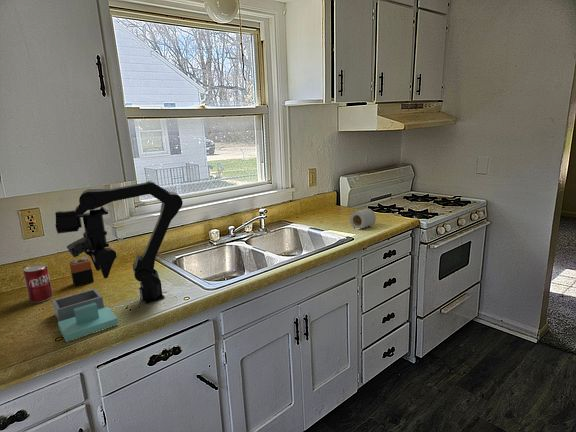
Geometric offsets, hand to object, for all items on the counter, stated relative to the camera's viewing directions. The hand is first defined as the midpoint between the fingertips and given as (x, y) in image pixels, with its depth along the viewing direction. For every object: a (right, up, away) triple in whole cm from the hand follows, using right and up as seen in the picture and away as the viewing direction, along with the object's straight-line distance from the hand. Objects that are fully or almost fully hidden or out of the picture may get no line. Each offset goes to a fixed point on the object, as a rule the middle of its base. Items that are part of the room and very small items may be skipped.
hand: (102, 274), depth 127 cm
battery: (-19, -7, +24) cm, 32 cm away
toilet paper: (+103, +13, +87) cm, 136 cm away
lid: (+1, -15, -10) cm, 18 cm away
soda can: (-27, -11, +11) cm, 31 cm away
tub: (-7, -13, 0) cm, 15 cm away
